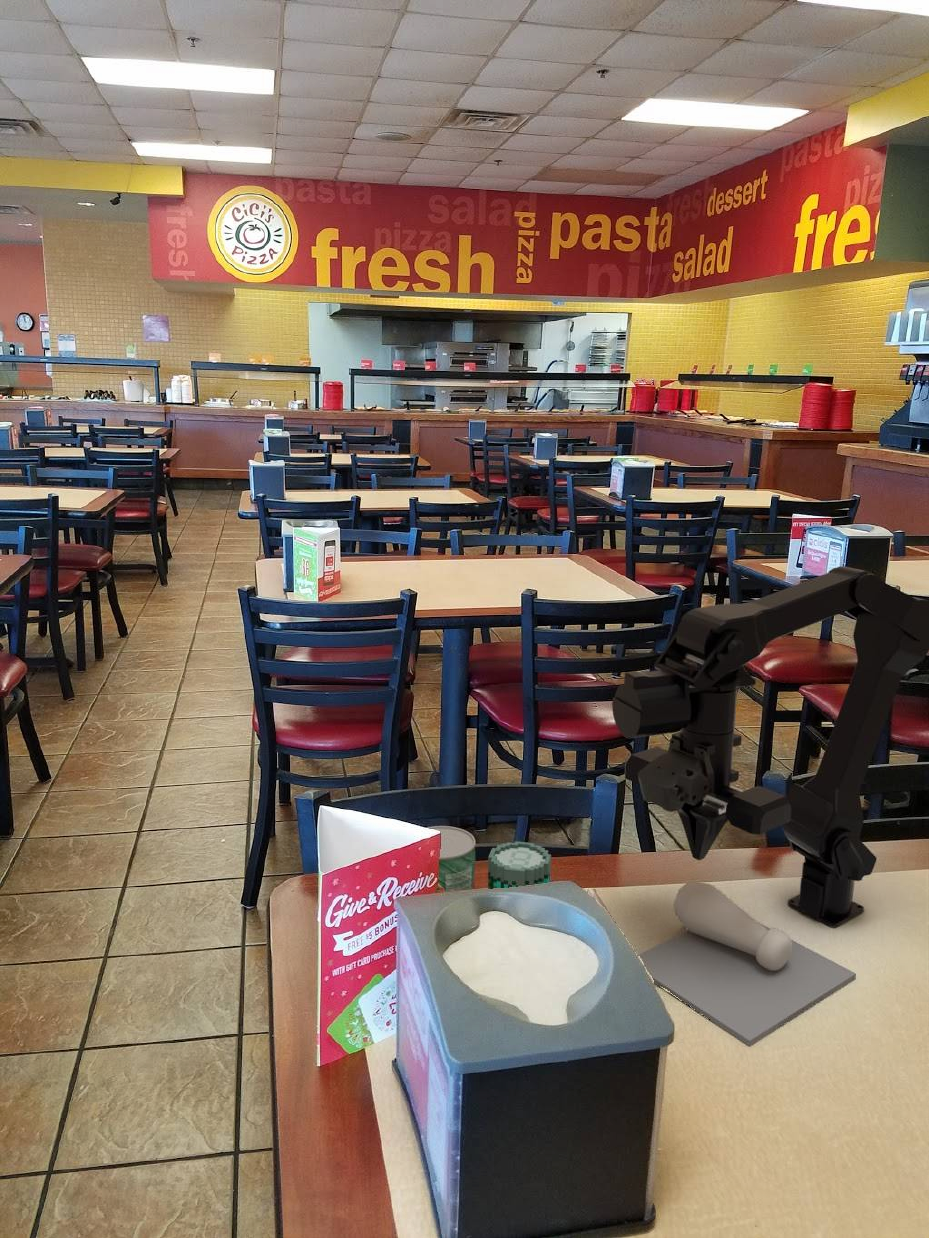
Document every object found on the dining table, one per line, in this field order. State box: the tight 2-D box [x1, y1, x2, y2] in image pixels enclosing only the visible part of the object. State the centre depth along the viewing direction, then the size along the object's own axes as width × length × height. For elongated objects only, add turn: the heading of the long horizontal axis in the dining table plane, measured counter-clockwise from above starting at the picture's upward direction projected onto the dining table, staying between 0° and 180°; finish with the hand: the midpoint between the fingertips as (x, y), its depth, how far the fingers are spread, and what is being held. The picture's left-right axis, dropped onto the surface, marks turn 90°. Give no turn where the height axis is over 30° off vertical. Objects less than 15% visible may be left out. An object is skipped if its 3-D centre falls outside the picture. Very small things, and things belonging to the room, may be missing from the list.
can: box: [487, 840, 552, 890], centre depth 93 cm, size 6×6×15 cm
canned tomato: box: [426, 825, 477, 892], centre depth 105 cm, size 8×8×11 cm
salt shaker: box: [672, 881, 792, 971], centre depth 101 cm, size 6×6×13 cm
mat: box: [637, 921, 857, 1047], centre depth 98 cm, size 18×16×1 cm
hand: (698, 858), depth 102 cm, fingers closed
